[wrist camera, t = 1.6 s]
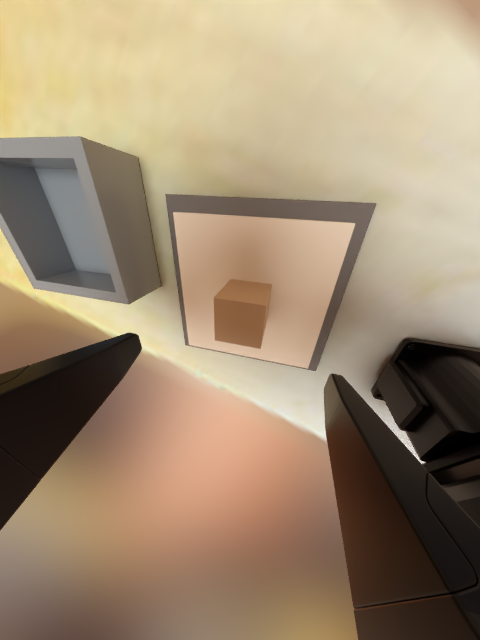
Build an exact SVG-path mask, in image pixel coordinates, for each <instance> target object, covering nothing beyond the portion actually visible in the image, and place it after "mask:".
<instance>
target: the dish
mask: <svg viewBox="0 0 480 640" xmlns="http://www.w3.org/2000/svg"><path fill="white" fill-rule="evenodd" d="M0 228H1V230H2V232H3V234H4V236H5V237H6V239H7V241H8V243H9V245H10V246H11V248H12V250H13V252H14V254H15V255H16V257H17V259H18V261H19V263H20V264H21V266H22V268H23V270H24V272H25V273H26V275H27V277H28V279H29V281H30V282H31V284H32V286H33V288H34V289H40V290H46V291H52V292H58V293H64V294H70V295H76V296H82V297H88V298H94V299H100V300H106V301H112V302H118V303H124V304H130V303H132V302H134V301H136V300H137V299H139V298H141V297H143V296H145V295H146V294H148V293H150V292H152V291H153V290H155V289H157V288H159V287H161V282H160V277H159V271H158V266H157V260H156V255H155V249H154V243H153V238H152V232H151V227H150V221H149V216H148V210H147V205H146V199H145V194H144V188H143V182H142V177H141V171H140V166H139V160H138V157H135V156H133V155H130V154H127V153H124V152H122V151H119V150H116V149H113V148H111V147H108V146H105V145H102V144H100V143H97V142H94V141H91V140H88V139H86V138H83V137H80V136H79V137H29V138H0Z"/></svg>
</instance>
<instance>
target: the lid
mask: <svg viewBox="0 0 480 640" xmlns="http://www.w3.org/2000/svg"><path fill="white" fill-rule="evenodd" d="M173 216H174V225H175V233H176V241H177V250H178V258H179V267H180V275H181V283H182V292H183V300H184V308H185V317H186V325H187V333H188V342H189V345H191V346H196V347H201V348H206V349H211V350H216V351H221V352H226V353H231V354H236V355H241V356H247V357H252V358H257V359H262V360H267V361H272V362H277V363H282V364H287V365H292V366H297V367H302V368H307V369H308V367H309V364H310V361H311V358H312V355H313V352H314V349H315V346H316V343H317V339H318V336H319V333H320V330H321V327H322V324H323V321H324V318H325V315H326V312H327V309H328V306H329V303H330V300H331V297H332V294H333V291H334V288H335V285H336V282H337V279H338V276H339V272H340V269H341V266H342V263H343V260H344V257H345V254H346V251H347V248H348V245H349V242H350V239H351V236H352V233H353V230H354V227H355V224H356V223H349V222H333V221H317V220H300V219H284V218H268V217H252V216H235V215H219V214H203V213H187V212H173Z"/></svg>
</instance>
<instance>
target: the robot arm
mask: <svg viewBox="0 0 480 640" xmlns="http://www.w3.org/2000/svg"><path fill="white" fill-rule="evenodd" d="M412 344H413V345H412ZM409 345H412V346H410V347H408V346H409ZM141 349H142V346H141V343H140V339H139V336H138V335H137V334H134V333H126V334H123V335H120V336H117V337H114V338H111V339H108V340H105V341H102V342H99V343H96V344H92V345H89V346H86V347H83V348H80V349H77V350H74V351H71V352H68V353H65V354H62V355H59V356H56V357H52V358H49V359H46V360H44V361H40V362H37V363H34V364H32V365H28V366H25V367H21V368H18V369H16V370H12V371H9V372H6V373H3V374H0V530H1V529H2V528H3V526H4V525H5V524H6V523H7V521H8V520H9V519H10V518H11V517H12V515H13V514H14V513H15V512H16V510H17V509H18V508H19V507H20V505H21V504H22V503H23V502H24V500H25V499H26V498H27V497H28V495H29V494H30V493H31V492H32V490H33V489H34V488H35V487H36V486H37V484H38V483H39V482H40V480H41V479H42V478H43V477H44V475H45V474H46V473H47V472H48V470H49V469H50V468H51V467H52V465H53V464H54V463H55V462H56V461H57V459H58V458H59V457H60V456H61V454H62V453H63V452H64V451H65V449H66V448H67V447H68V446H69V444H70V443H71V441H73V439H74V438H75V437H76V436H77V434H78V433H79V432H80V431H81V430H82V428H83V427H84V426H85V425H86V423H87V422H88V421H89V420H90V418H91V417H92V416H93V415H94V414H95V412H96V411H97V410H98V409H99V407H100V406H101V405H102V404H103V402H104V401H105V400H106V398H107V397H108V396H109V395H110V394H111V392H112V391H113V390H114V388H115V387H116V386H117V385H118V384H119V382H120V381H121V380H122V379H123V377H124V376H125V375H126V373H127V372H128V370H129V368H130V367H131V365H132V364H133V363H134V361H135V360H136V358H137V357H138V355H139V354H140V352H141ZM372 395H373V397H374V398H376V399H380V400H384V401H385V402H386V404H387V406H388V408H389V410H390V412H391V414H392V416H393V418H394V420H395V422H396V424H397V426H398V427H399V429H400V430H403V431H406V433H407V435H408V437H409V439H410V441H411V443H412V445H413V447H414V449H415V451H416V453H417V454H418V456H419V458H420V460H422V461H424V462H426V463H423V464H421V463H420V462H419V461H418V460H417V459H416V457H415V456H414V455H413V454H412V453H411V452H410V451H409V450H408V449H407V447H406V446H405V445H404V444H403V443H402V442H401V441H400V440H399V439H398V437H397V436H396V435H395V434H394V433H393V432H392V431H391V430H390V428H389V427H388V426H387V425H386V424H385V423H384V422H383V421H382V420H381V418H380V417H379V416H378V415H377V414H376V413H375V412H374V411H373V410H372V408H371V407H370V406H369V405H368V404H367V403H366V402H365V401H364V400H363V398H362V397H361V396H360V395H359V394H358V393H357V392H356V391H355V390H354V388H353V387H352V386H351V385H350V384H349V383H348V382H347V381H346V380H345V378H344V377H343V376H341V375H337V374H330V375H329V378H328V380H327V382H326V385H325V387H324V408H325V429H326V437H327V443H328V449H329V456H330V461H331V468H332V474H333V480H334V487H335V494H336V499H337V506H338V512H339V519H340V525H341V532H342V537H343V544H344V551H345V557H346V563H347V569H348V576H349V582H350V589H351V595H352V601H353V606H354V608H355V609H354V615H355V621H356V628H357V633H358V640H480V349H476V348H470V347H463V346H457V345H450V344H444V343H438V342H431V341H425V340H418V339H406V340H404V341H403V342H402V343H401V345H400V346H399V348H398V350H397V351H396V353H395V354H394V356H393V358H392V359H391V361H390V362H389V363H388V364H387V366H386V367H385V369H384V371H383V372H382V374H381V375H380V377H379V379H378V380H377V382H376V385H375V386H374V388H373V389H372Z"/></svg>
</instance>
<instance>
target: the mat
mask: <svg viewBox="0 0 480 640" xmlns="http://www.w3.org/2000/svg"><path fill="white" fill-rule="evenodd" d="M166 202H167V209H168V217H169V224H170V232H171V240H172V247H173V255H174V262H175V270H176V277H177V285H178V293H179V300H180V308H181V315H182V323H183V330H184V338H185V345H188V346H191V345H189V342H188V333H187V325H186V317H185V308H184V300H183V292H182V283H181V275H180V267H179V258H178V250H177V241H176V233H175V225H174V216H173V212H187V213H203V214H219V215H235V216H252V217H268V218H284V219H300V220H317V221H333V222H349V223H356V224H355V227H354V230H353V233H352V236H351V239H350V242H349V245H348V248H347V251H346V254H345V257H344V260H343V263H342V266H341V269H340V272H339V276H338V279H337V282H336V285H335V288H334V291H333V294H332V297H331V300H330V303H329V306H328V309H327V312H326V315H325V318H324V321H323V324H322V327H321V330H320V333H319V336H318V339H317V343H316V346H315V349H314V352H313V355H312V358H311V361H310V364H309V367H308V370H313V371H316V369H317V366H318V364H319V361H320V358H321V355H322V353H323V350H324V347H325V344H326V341H327V339H328V336H329V333H330V330H331V328H332V325H333V322H334V319H335V317H336V314H337V311H338V308H339V306H340V303H341V300H342V297H343V295H344V292H345V289H346V286H347V283H348V281H349V278H350V275H351V272H352V270H353V267H354V264H355V261H356V259H357V256H358V253H359V250H360V248H361V245H362V242H363V239H364V237H365V234H366V231H367V228H368V225H369V223H370V220H371V217H372V214H373V212H374V209H375V206H376V203H355V202H332V201H309V200H286V199H263V198H240V197H217V196H194V195H171V194H166ZM193 347H196V346H193ZM198 348H201V347H198ZM203 349H206V348H203ZM208 350H211V349H208ZM213 351H216V350H213ZM218 352H221V351H218ZM223 353H226V352H223ZM228 354H231V353H228ZM233 355H236V354H233ZM238 356H241V355H238ZM243 357H247V356H243ZM248 358H252V357H248ZM253 359H257V358H253ZM258 360H262V359H258ZM263 361H267V360H263ZM268 362H272V361H268ZM273 363H277V362H273ZM278 364H282V363H278ZM283 365H287V364H283ZM288 366H292V365H288ZM293 367H297V366H293ZM298 368H302V367H298ZM303 369H307V368H303Z"/></svg>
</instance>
